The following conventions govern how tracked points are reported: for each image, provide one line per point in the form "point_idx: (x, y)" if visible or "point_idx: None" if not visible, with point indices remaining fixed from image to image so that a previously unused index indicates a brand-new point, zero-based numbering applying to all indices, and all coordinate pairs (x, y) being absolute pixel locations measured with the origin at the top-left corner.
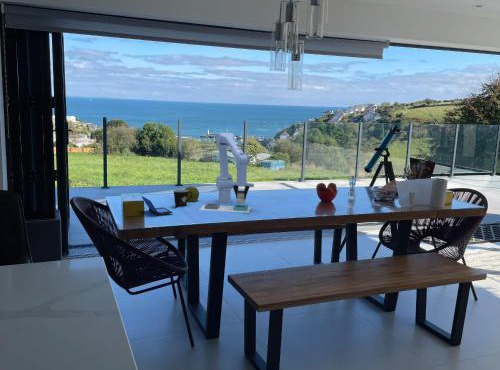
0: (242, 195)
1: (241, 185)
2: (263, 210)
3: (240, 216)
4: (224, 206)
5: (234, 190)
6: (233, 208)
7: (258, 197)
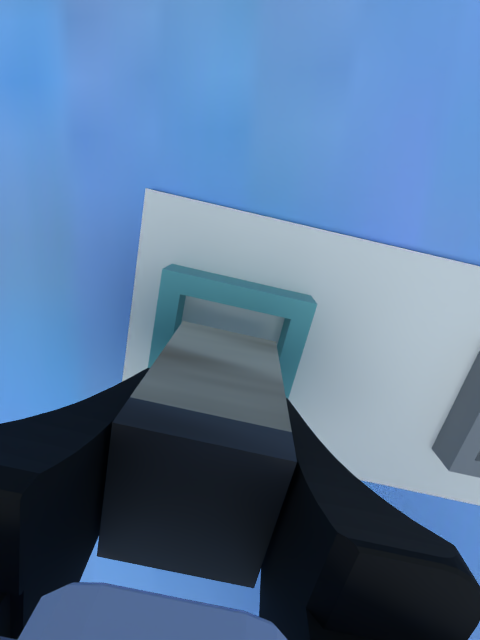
0: (178, 384)
1: (90, 587)
2: (10, 361)
3: (249, 67)
4: (380, 458)
5: (381, 501)
6: (300, 379)
7: None
